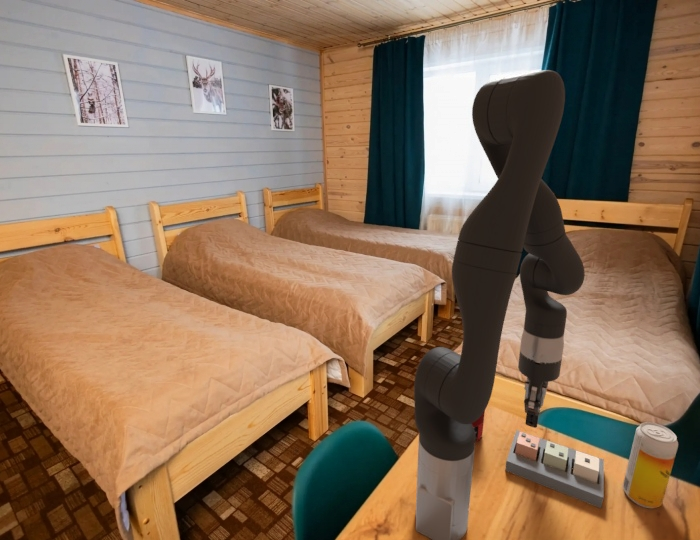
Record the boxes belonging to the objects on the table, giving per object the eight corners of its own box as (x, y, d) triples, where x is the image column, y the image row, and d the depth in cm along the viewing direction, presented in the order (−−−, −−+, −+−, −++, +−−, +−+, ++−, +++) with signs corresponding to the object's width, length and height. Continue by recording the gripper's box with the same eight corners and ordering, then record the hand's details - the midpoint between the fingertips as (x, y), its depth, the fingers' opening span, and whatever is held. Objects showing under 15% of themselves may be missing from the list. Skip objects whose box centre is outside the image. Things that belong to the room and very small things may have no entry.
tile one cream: (596, 483, 74) (599, 470, 73) (572, 474, 76) (575, 462, 75) (596, 469, 77) (599, 457, 76) (574, 461, 79) (576, 449, 78)
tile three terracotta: (535, 460, 79) (537, 449, 78) (515, 453, 81) (516, 441, 81) (538, 448, 83) (539, 437, 82) (518, 442, 85) (520, 430, 84)
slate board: (601, 508, 71) (603, 497, 70) (505, 470, 80) (506, 460, 79) (601, 469, 80) (603, 459, 79) (515, 438, 89) (516, 429, 88)
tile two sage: (564, 471, 77) (567, 459, 76) (542, 463, 79) (544, 451, 78) (566, 458, 80) (568, 447, 79) (545, 451, 82) (547, 439, 81)
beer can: (668, 513, 70) (687, 445, 65) (631, 508, 71) (647, 441, 67) (650, 486, 75) (667, 422, 71) (616, 481, 77) (630, 418, 72)
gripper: (525, 334, 83) (518, 402, 88) (514, 361, 72) (506, 437, 77) (565, 342, 79) (554, 412, 84) (558, 372, 68) (547, 451, 73)
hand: (531, 424), depth 80 cm, fingers closed
